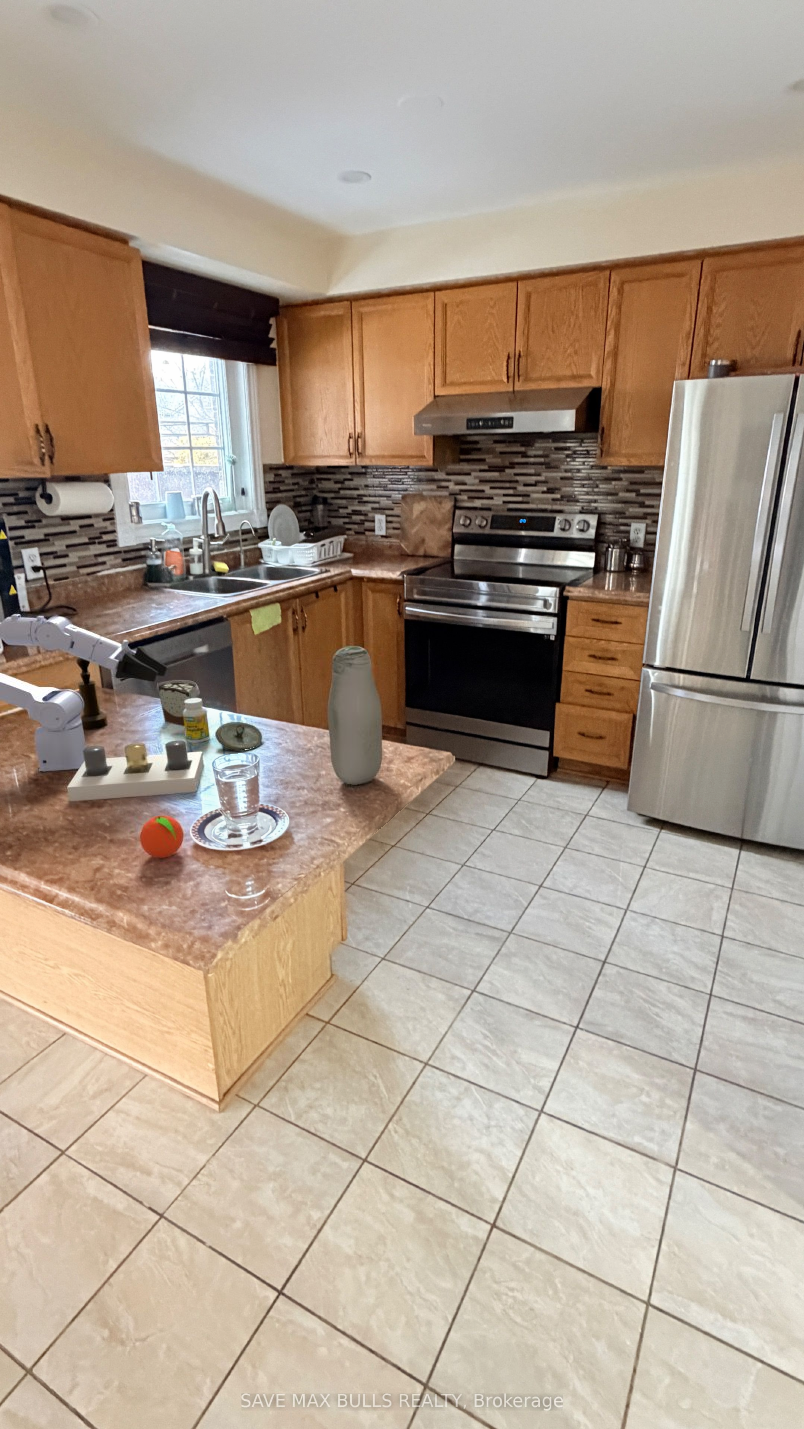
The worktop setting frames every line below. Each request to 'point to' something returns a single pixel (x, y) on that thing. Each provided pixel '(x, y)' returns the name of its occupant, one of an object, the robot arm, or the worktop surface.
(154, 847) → the clementine
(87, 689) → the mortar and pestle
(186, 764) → the knob
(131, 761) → the knob middle
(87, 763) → the knob
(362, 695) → the grey bottle
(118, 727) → the worktop surface
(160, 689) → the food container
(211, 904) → the worktop surface
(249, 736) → the lid
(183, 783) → the housing
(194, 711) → the supplement bottle
